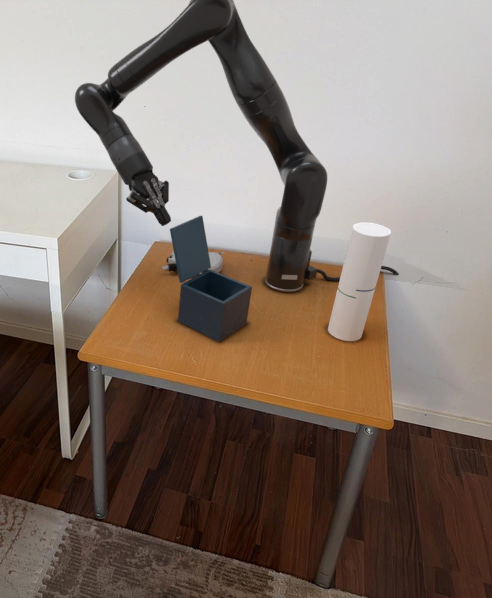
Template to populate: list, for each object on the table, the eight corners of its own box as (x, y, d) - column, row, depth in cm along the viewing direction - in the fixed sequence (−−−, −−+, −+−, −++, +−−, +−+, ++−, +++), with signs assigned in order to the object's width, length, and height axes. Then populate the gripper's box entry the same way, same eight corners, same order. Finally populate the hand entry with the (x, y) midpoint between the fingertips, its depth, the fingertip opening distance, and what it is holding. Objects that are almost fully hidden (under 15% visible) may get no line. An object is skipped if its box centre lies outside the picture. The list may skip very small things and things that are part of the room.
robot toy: (160, 279, 152) (216, 285, 146) (159, 263, 149) (217, 269, 144) (173, 259, 161) (226, 265, 156) (172, 245, 159) (227, 250, 154)
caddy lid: (202, 215, 130) (199, 215, 130) (172, 228, 123) (169, 228, 124) (211, 267, 133) (208, 267, 134) (182, 282, 127) (179, 282, 128)
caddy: (246, 323, 131) (252, 286, 126) (219, 342, 125) (223, 303, 120) (205, 304, 139) (209, 269, 134) (177, 321, 132) (180, 284, 127)
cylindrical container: (364, 342, 125) (394, 237, 112) (330, 339, 126) (356, 235, 113) (358, 325, 131) (386, 223, 118) (325, 321, 132) (349, 221, 119)
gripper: (117, 156, 126) (157, 224, 124) (157, 144, 134) (195, 208, 132) (101, 174, 132) (138, 239, 130) (140, 162, 140) (175, 223, 138)
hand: (166, 223), depth 131 cm, fingers closed
